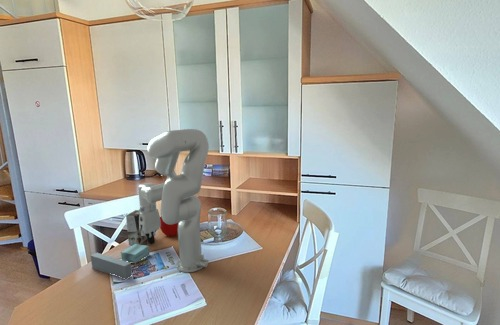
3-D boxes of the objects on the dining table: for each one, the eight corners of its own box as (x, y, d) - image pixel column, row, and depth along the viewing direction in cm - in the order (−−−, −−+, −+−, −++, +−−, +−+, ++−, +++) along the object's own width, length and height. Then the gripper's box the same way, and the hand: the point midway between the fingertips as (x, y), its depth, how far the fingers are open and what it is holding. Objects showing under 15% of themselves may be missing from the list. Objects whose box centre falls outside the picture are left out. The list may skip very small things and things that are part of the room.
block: (149, 255, 138) (148, 245, 137) (136, 265, 130) (135, 254, 129) (136, 253, 141) (135, 243, 140) (122, 262, 133) (121, 252, 132)
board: (132, 276, 120) (130, 262, 119) (126, 279, 118) (124, 266, 117) (98, 264, 130) (96, 252, 129) (92, 268, 128) (90, 255, 127)
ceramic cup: (174, 243, 150) (173, 225, 149) (155, 235, 161) (153, 218, 159) (193, 234, 161) (192, 217, 159) (174, 228, 171) (172, 212, 169)
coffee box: (139, 245, 149) (136, 215, 146) (128, 244, 150) (125, 215, 148) (149, 238, 158) (146, 209, 155) (138, 237, 159) (135, 209, 156)
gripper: (141, 214, 132) (144, 251, 135) (165, 204, 145) (167, 239, 148) (130, 212, 136) (133, 248, 139) (154, 203, 149) (156, 236, 152)
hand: (151, 243), depth 144 cm, fingers closed
